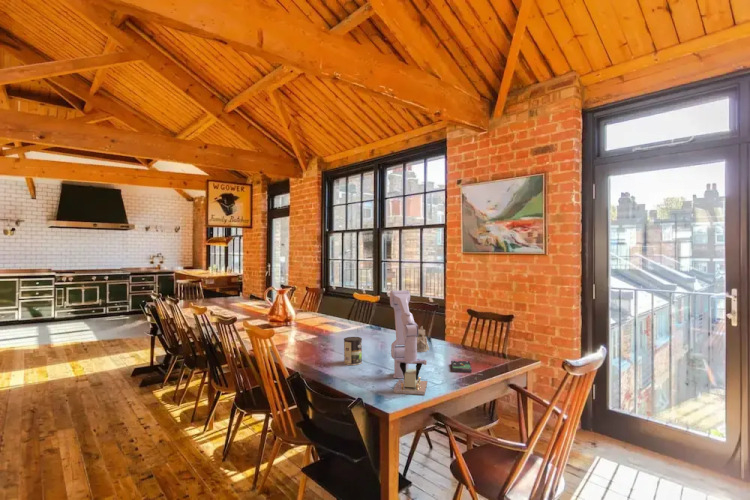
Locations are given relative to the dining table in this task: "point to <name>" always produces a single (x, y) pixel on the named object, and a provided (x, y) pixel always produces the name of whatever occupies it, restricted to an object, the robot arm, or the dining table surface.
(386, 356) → the dining table surface
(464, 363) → the disk drive
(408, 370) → the block
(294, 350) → the dining table surface
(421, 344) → the ceramic cottage
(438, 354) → the dining table surface
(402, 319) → the robot arm
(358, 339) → the coffee can
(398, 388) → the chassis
